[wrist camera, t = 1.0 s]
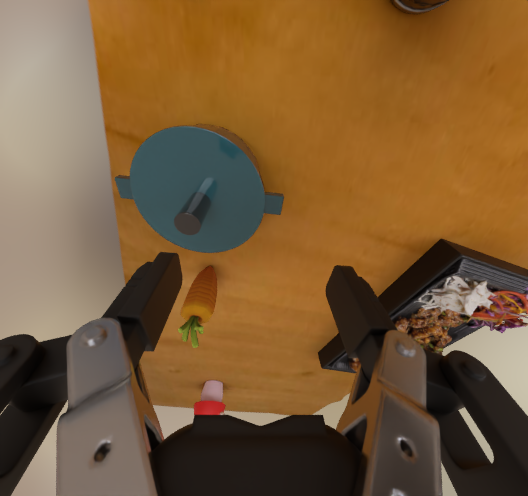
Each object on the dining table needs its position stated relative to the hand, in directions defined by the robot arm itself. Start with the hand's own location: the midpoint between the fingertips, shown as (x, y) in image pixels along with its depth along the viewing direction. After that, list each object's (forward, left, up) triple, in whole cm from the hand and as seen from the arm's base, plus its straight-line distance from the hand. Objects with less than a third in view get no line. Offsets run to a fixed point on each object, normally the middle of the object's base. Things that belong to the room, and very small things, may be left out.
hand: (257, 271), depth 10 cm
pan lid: (+3, -6, -14) cm, 16 cm away
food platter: (+33, +41, -21) cm, 57 cm away
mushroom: (+80, -8, -21) cm, 83 cm away
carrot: (+20, -7, -21) cm, 30 cm away
